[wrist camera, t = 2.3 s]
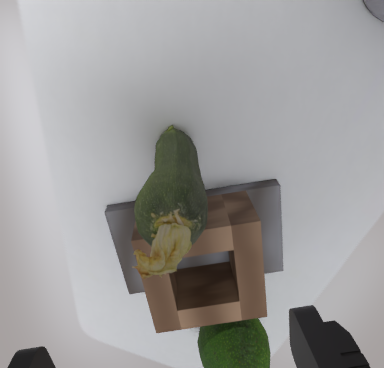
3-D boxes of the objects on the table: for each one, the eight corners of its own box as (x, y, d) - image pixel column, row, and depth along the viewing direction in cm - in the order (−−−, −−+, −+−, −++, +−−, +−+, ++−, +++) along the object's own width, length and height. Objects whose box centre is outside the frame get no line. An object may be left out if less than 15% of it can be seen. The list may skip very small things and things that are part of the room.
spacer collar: (275, 179, 33) (302, 214, 26) (279, 262, 38) (302, 311, 31) (107, 205, 33) (90, 247, 26) (131, 285, 38) (121, 338, 31)
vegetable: (204, 146, 31) (245, 292, 13) (171, 173, 32) (167, 343, 14) (174, 112, 30) (174, 223, 11) (141, 141, 31) (92, 286, 12)
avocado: (245, 336, 42) (270, 438, 32) (189, 328, 41) (194, 431, 30) (265, 292, 39) (301, 387, 28) (205, 282, 38) (218, 377, 27)
